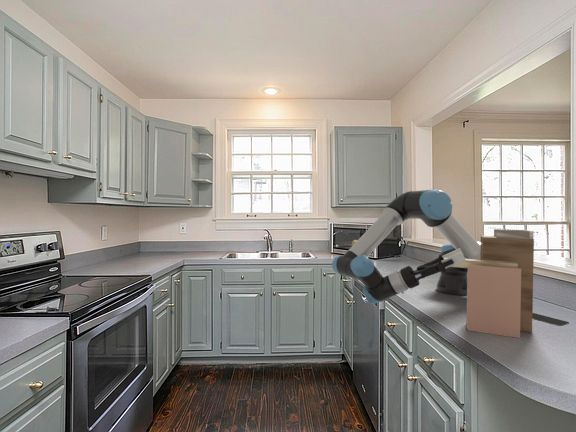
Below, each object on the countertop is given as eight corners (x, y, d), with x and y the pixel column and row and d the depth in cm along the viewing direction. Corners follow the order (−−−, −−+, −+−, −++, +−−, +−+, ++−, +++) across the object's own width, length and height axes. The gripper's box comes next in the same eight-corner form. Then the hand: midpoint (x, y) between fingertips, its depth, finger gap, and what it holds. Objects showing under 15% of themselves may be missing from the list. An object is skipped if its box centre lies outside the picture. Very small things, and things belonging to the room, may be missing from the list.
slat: (444, 264, 112) (444, 257, 112) (515, 269, 103) (515, 262, 103) (444, 266, 109) (444, 258, 109) (517, 271, 100) (517, 263, 99)
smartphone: (559, 325, 109) (512, 312, 123) (559, 327, 109) (512, 314, 123) (570, 322, 112) (523, 310, 126) (570, 324, 112) (523, 311, 126)
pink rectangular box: (466, 323, 111) (467, 262, 110) (515, 330, 104) (516, 265, 104) (467, 330, 104) (468, 265, 104) (519, 338, 98) (521, 268, 98)
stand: (479, 317, 118) (480, 228, 117) (526, 323, 111) (527, 230, 111) (481, 324, 110) (483, 229, 109) (532, 332, 103) (534, 231, 103)
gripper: (413, 282, 127) (467, 259, 118) (405, 296, 104) (471, 269, 96) (403, 265, 128) (455, 241, 120) (394, 275, 106) (457, 247, 98)
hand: (462, 253), depth 108 cm, fingers open, 13 cm apart
